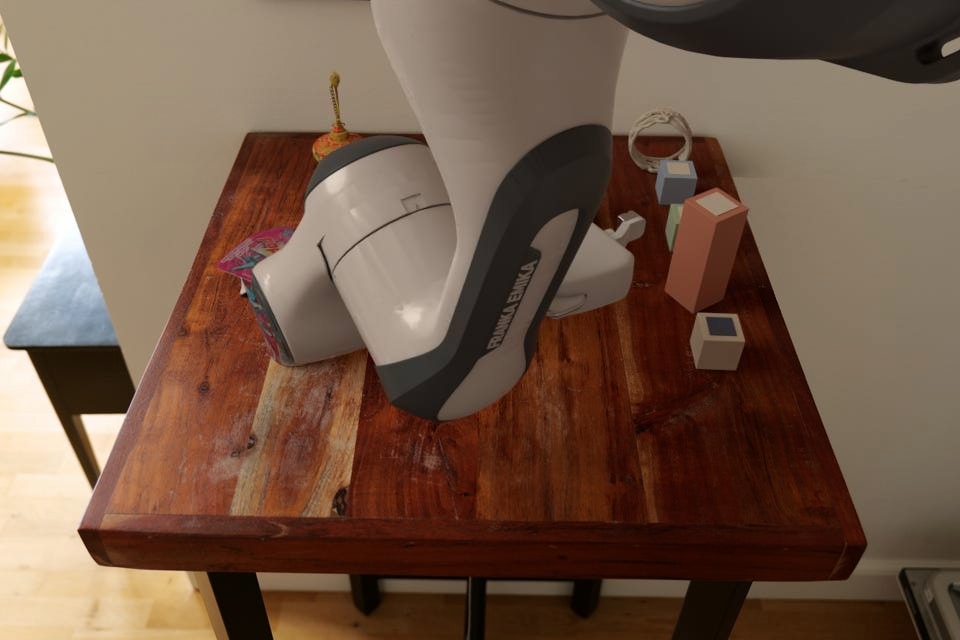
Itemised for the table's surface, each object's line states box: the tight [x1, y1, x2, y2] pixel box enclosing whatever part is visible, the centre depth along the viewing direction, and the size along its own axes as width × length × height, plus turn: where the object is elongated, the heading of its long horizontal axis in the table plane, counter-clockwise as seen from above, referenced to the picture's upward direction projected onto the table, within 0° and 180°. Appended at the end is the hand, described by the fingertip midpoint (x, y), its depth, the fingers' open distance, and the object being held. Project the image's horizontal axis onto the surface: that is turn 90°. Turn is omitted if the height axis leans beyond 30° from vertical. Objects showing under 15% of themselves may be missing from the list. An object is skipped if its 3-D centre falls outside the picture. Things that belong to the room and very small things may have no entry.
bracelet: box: [627, 106, 693, 174], centre depth 109 cm, size 4×8×8 cm, turn 81°
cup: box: [215, 226, 308, 368], centre depth 81 cm, size 9×8×12 cm
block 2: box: [664, 204, 684, 253], centre depth 99 cm, size 4×4×4 cm
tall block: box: [664, 187, 750, 315], centre depth 89 cm, size 4×4×12 cm
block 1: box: [654, 159, 698, 206], centre depth 106 cm, size 4×4×4 cm
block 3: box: [689, 312, 746, 371], centre depth 85 cm, size 4×4×4 cm
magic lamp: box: [312, 70, 364, 163], centre depth 104 cm, size 7×18×11 cm, turn 8°
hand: (601, 194), depth 71 cm, fingers open, 8 cm apart
